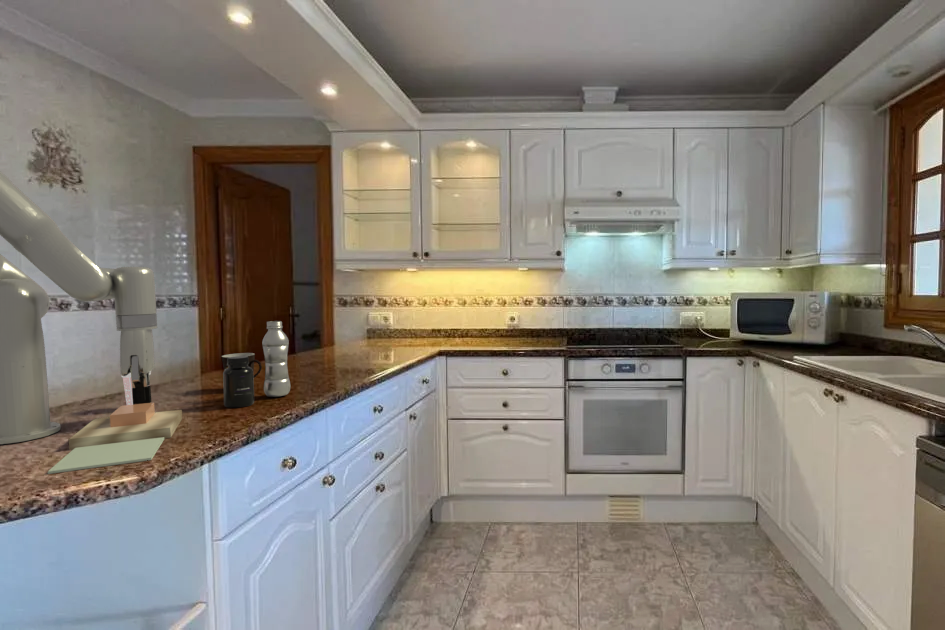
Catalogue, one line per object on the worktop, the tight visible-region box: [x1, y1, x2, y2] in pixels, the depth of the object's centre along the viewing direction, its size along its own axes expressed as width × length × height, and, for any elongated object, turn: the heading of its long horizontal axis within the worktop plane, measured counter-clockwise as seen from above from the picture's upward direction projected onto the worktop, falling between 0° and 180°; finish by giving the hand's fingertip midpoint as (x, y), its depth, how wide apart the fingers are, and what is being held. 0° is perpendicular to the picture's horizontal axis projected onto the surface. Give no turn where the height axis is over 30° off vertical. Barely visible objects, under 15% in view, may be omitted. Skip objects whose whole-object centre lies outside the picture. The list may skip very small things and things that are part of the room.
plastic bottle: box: [261, 320, 291, 398], centre depth 132 cm, size 6×7×20 cm
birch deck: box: [68, 409, 183, 451], centre depth 101 cm, size 16×16×2 cm
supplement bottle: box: [222, 356, 255, 409], centre depth 123 cm, size 7×7×12 cm
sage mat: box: [47, 437, 165, 475], centre depth 88 cm, size 14×13×1 cm
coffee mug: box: [221, 352, 263, 379], centre depth 142 cm, size 12×9×10 cm
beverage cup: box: [121, 370, 152, 405], centre depth 123 cm, size 6×6×14 cm
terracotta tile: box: [109, 402, 156, 427], centre depth 104 cm, size 6×9×2 cm, turn 23°
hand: (142, 404), depth 111 cm, fingers closed
